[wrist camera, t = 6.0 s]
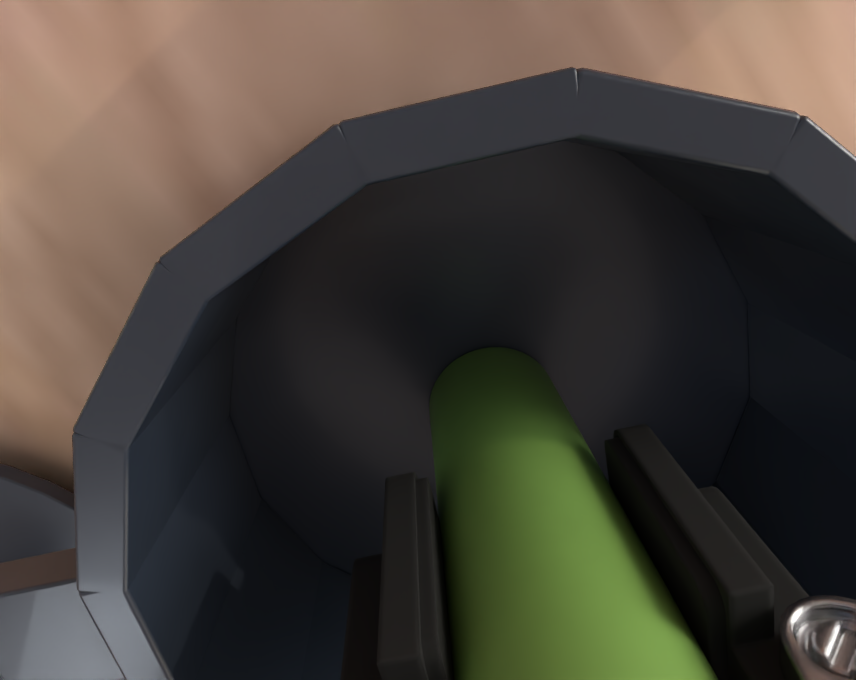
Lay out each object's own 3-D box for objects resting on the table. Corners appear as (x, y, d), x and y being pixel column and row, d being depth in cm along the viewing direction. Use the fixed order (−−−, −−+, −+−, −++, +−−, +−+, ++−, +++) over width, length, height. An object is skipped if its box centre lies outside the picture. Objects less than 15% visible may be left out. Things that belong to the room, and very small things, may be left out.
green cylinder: (416, 361, 15) (442, 789, 5) (544, 333, 15) (797, 723, 5) (443, 469, 16) (501, 980, 7) (562, 444, 16) (796, 929, 6)
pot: (-1, 204, 14) (-330, 277, 7) (891, -4, 13) (1335, -112, 7) (216, 668, 19) (126, 935, 13) (861, 540, 18) (1097, 760, 12)
